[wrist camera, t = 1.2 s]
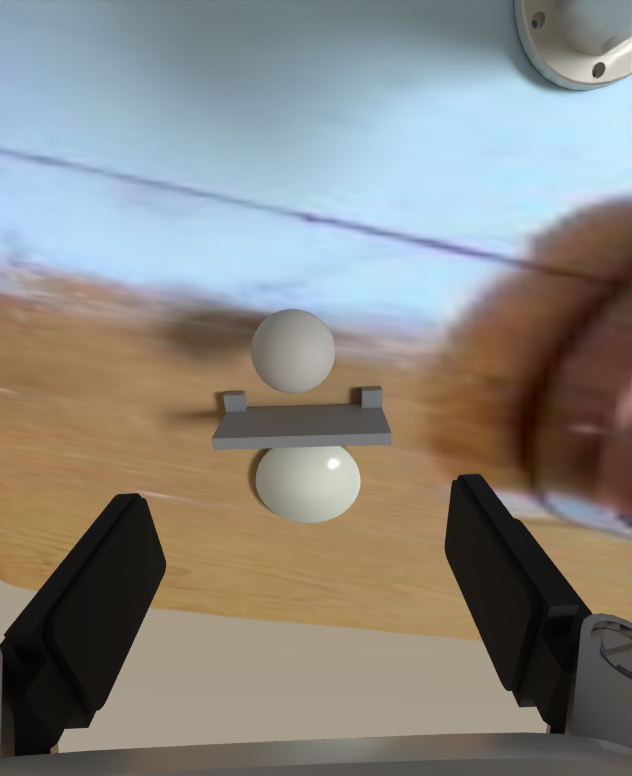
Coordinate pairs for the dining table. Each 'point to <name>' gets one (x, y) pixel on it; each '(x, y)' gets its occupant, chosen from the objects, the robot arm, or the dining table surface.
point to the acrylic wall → (302, 424)
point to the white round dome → (308, 482)
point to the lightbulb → (293, 351)
